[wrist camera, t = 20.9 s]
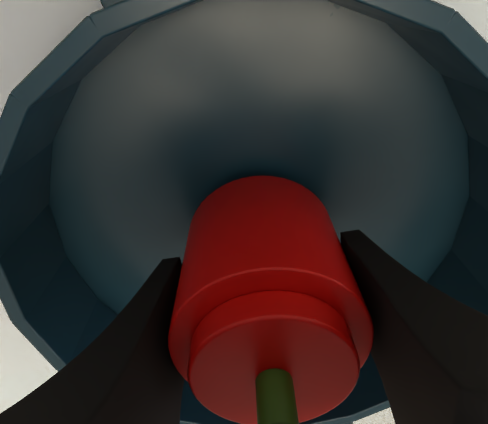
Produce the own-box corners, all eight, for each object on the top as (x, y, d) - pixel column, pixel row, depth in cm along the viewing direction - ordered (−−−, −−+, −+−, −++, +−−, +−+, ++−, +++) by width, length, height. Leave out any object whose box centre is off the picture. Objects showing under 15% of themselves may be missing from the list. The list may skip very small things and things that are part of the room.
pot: (178, 412, 22) (168, 490, 18) (-128, -3, 11) (-294, -1, 8) (477, 346, 19) (529, 422, 16) (468, -278, 8) (628, -466, 5)
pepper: (280, 310, 16) (307, 512, 10) (165, 260, 14) (111, 460, 8) (361, 217, 14) (466, 405, 7) (234, 147, 12) (232, 307, 6)
